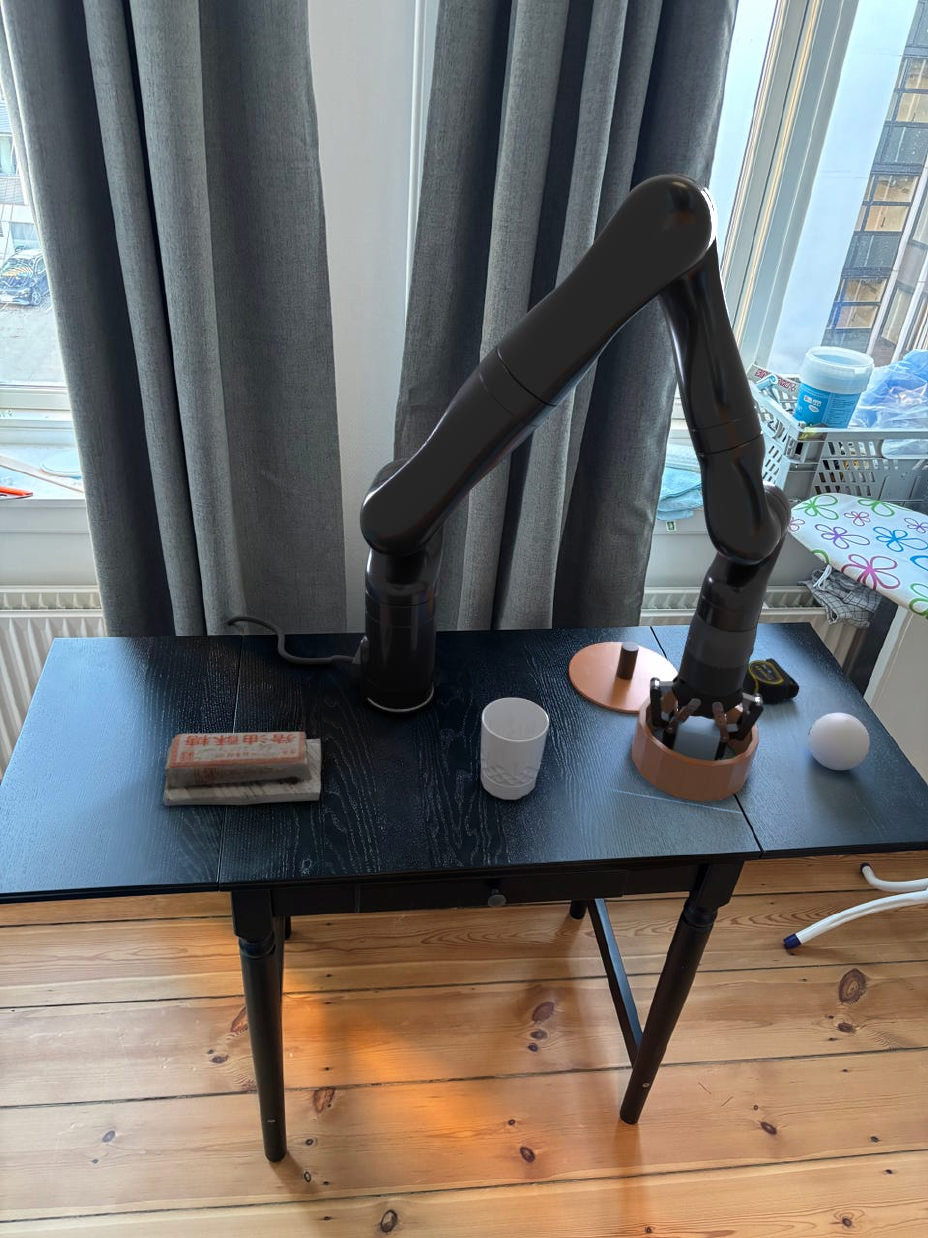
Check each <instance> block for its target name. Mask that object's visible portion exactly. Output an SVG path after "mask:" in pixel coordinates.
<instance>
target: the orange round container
mask: <svg viewBox="0 0 928 1238" xmlns="http://www.w3.org/2000/svg"><path fill="white" fill-rule="evenodd" d="M676 701H677V699H676V697H675V696H674V694H673V692H669V693H668V694H667V697H666V698H665V699H664V700H663V701H662V712H664V713H666V714H668V713H669V712H670V711H671V709H672V708H673V707H674V704H675V702H676ZM742 711H743V708H742V706H741V705H740V704H739V705H737V706H736V707H734V708H733V709H731V710H730V711H729V712H727V713H726V715H727V720H728V725H729V724H735V722H736V720H737V719H738V717H739V716H740V714H741V713H742ZM634 728H635V729H634V732H633V737H632V743H631V755H630V757H631V760H632V761H633V763H634V765H635V767H636V769H637V771H638V773H639V774H640V776H642V777H643V778H644V779H645V780H647V781H648V782H649V783H650V784H651V785H652V786H653V787H654V788H656V789H658V790H660V791H662V792H664V793H667V794H669V795H670V796H673V797H675V798H678V799H683V800H689V801H695V802H702V803H704V802H712V801H721V800H726V799H728V798H729V797H731V796H733V795H735V794H736V793H739V792H740V791H741V790H742V788H743V786H744V785H745V784H746V782H747V780H748V778H749V776H750V772H751V769H752V766H753V763H754V759H755V756H756V753H757V750H758V747H759V744H760V736H759V727H758V725H757V723H755V724H754V726H753V727H752V729H751V730H750V732H749V733H748V735H747V736H746V738H745V739H744V740H743V741H738V740H736V739H731V740H729V741H728V743H727V746H728V747H730V748H731V749H732V751H733V752H734V754H735V755H736V756H733V757H732V758H728V759H727V758H726V759H717V760H716V761H706V760H700V759H695V758H689V757H686V756H684V755H682V754H679V753H677V752H675V751H673V750H670V749H668V748H667V747H666V746H665V745H663V744H662V741H660V740H659V739H658V738H656V737H655V736H654V735H653V733H652V732H653V731H655V730H657V729H660V728H661V727H654V726H653V725H652V716H651V703H650V696H649V697H648V698H647V699H646V700H645V702H644V703H643V704H642V705H641V707H640V709H639V713H637V719H636V723H635V727H634Z"/></svg>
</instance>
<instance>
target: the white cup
mask: <svg viewBox="0 0 928 1238" xmlns="http://www.w3.org/2000/svg"><path fill="white" fill-rule="evenodd" d="M480 725H481V727H480V729H481V731H480V781H481V784H482V787H483V789H485V790H486V791H487V792H488V793H489V794H490V795H491V796H493V797H496V798H499V799H502V800H506V801H507V800H509V801H512V800H513V801H517V800H520V799H522V798H523V797H524V796H528V795H529V794H530V793H531V791H533V790H534V789H535V787H536V781H537V778H538V777H537V776H538V774H539V771H540V769H541V763H542V760H543V759H542V758H543V755H544V751H545V746H546V741H547V735H548V732H549V726H550V718H549V716H548V713H547V712H546V711H545V709H543V708H542V706H540V705H538V703H535V702H534V701H531V700H529V699H525V698H521V697H502V698H498V699H496V700H493V701H491V702H490V703H488V704H487V705H485V707H484V709H483V710H482V712H481V724H480Z"/></svg>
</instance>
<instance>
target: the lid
mask: <svg viewBox="0 0 928 1238" xmlns="http://www.w3.org/2000/svg"><path fill="white" fill-rule="evenodd" d="M678 673H679V671H677V669H676V668H675V666H674V665H673V664H672V662H670V661H669V660H668V659H667V658H666V657H664V656H662V655H661V654H659V653H657V652H655V651H654V650H651V649H649V648H647V647H644V646H641V645H639V644H638V643H636V642H635V641H631V640H626V641H622V642H621V641H606V642H605V641H604V642H600V643H594V644H590V645H588V646H586V647H583V648H581V649H580V650H579V651H577V652H576V653H575V654H574V655H573V656H572V657H571V660H570V662H569V665H568V676H569V679H570V682H571V684H572V686H573V687H574V688H575V690H576V691H577V692H578V693H579V694H580V695H581V696H583V698H585V699H587V700H588V701H589V702H591V703H593V704H595V705H597V706H600V707H602V708H604V709H607V710H609V711H610V710H611V711H614V712H619V713H625V714H639V709H640V707H641V705H642V704H643V703H644V702H645V700H646V699H647V698H648V697H649V696H650V680H651V678H653V677H657V678H659V679H660V681H672V680H673V679H674V678H675V677H676V676H677V675H678Z"/></svg>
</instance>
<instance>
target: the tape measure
mask: <svg viewBox="0 0 928 1238" xmlns="http://www.w3.org/2000/svg"><path fill="white" fill-rule="evenodd" d="M742 690H743V692H744V693H745V694H748V695H751V696H752V695H753V694H756V693H759V694H761V695H762V700H763V704H772V705H773V704H778V703H782V702H783V701H786V700H787V701H788V700H792V699H794V698H796V697H797V696H798V694H799V692H800V685H799V683H798V682H797V681H796V680H795V679H794V678H793V677H792V676H791V675H789V673H788V672H786V670H784V668H783V667H782V666H781V665H780V664H779V663H778V662H777V660H776V659H774V658H773V657H771V658H767V659H765V660H762V659H760V660H758V659H757V660H753V661H750V662H749V664H748V668H747V671H746V675H745V678H744V681H743V685H742Z"/></svg>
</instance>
